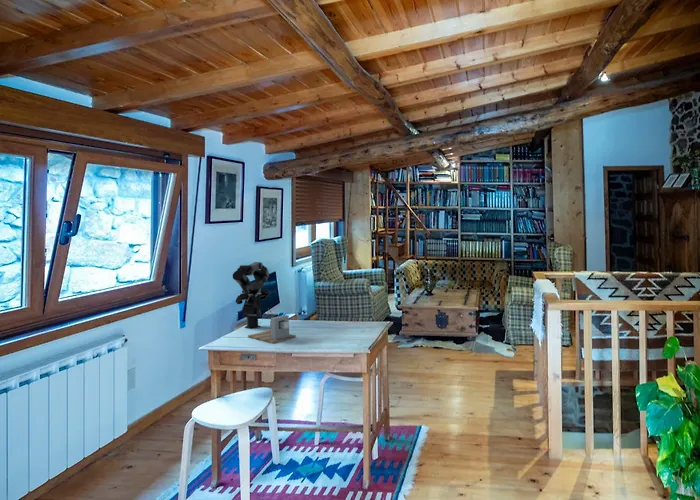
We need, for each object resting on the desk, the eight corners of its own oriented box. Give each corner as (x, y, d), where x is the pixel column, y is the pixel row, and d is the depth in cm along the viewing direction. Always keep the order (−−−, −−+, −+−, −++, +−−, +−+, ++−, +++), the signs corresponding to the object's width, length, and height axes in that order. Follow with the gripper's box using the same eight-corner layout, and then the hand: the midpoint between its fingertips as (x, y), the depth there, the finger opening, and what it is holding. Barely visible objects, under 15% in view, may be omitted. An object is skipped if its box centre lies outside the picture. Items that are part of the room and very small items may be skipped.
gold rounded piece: (272, 329, 249) (271, 318, 249) (280, 327, 253) (279, 317, 253) (282, 331, 244) (282, 320, 243) (290, 329, 248) (290, 319, 247)
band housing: (270, 338, 247) (270, 318, 247) (284, 335, 254) (284, 314, 253) (275, 339, 245) (274, 318, 244) (289, 336, 252) (288, 315, 251)
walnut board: (247, 337, 255) (247, 335, 255) (270, 331, 266) (270, 329, 266) (272, 343, 242) (272, 341, 242) (295, 337, 253) (295, 335, 253)
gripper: (237, 278, 254) (251, 302, 248) (267, 274, 268) (280, 296, 261) (229, 292, 260) (243, 315, 254) (258, 287, 274) (272, 309, 267)
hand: (260, 309), depth 259 cm, fingers closed
